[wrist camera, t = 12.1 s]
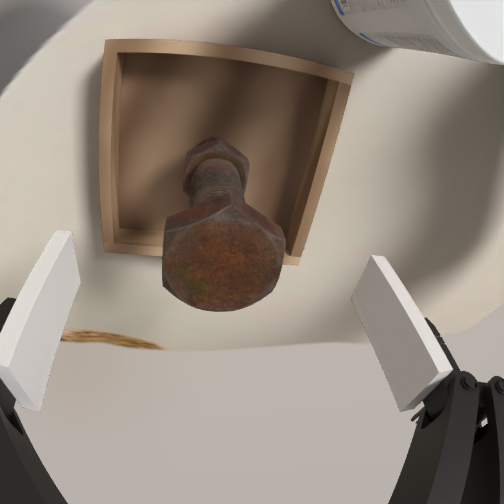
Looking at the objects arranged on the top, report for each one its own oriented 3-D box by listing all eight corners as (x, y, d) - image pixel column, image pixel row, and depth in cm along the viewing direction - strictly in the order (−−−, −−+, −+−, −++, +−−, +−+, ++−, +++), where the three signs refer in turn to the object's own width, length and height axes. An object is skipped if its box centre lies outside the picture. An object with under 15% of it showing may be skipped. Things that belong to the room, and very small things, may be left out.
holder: (337, 69, 23) (354, 73, 20) (289, 244, 33) (298, 265, 30) (118, 40, 19) (105, 39, 16) (112, 231, 29) (104, 252, 27)
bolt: (194, 192, 27) (188, 326, 15) (169, 141, 24) (131, 250, 12) (257, 167, 27) (303, 287, 15) (236, 113, 24) (269, 195, 12)
